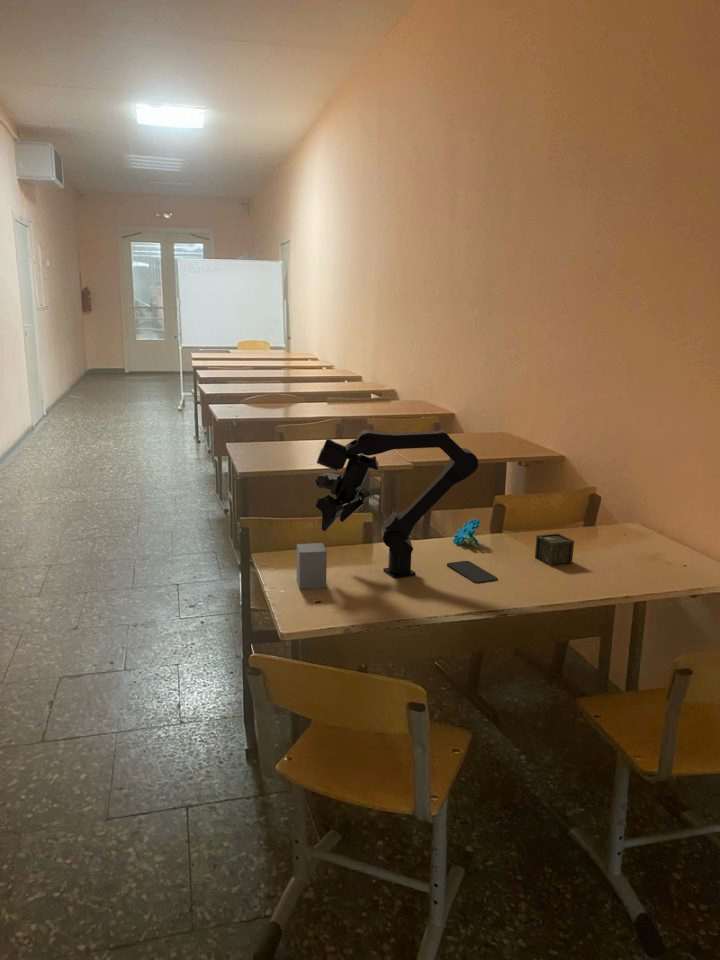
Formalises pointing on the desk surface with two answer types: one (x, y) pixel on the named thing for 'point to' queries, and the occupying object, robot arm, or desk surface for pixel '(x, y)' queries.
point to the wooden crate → (554, 549)
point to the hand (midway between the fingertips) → (332, 525)
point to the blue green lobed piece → (467, 533)
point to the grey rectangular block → (311, 566)
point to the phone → (472, 572)
